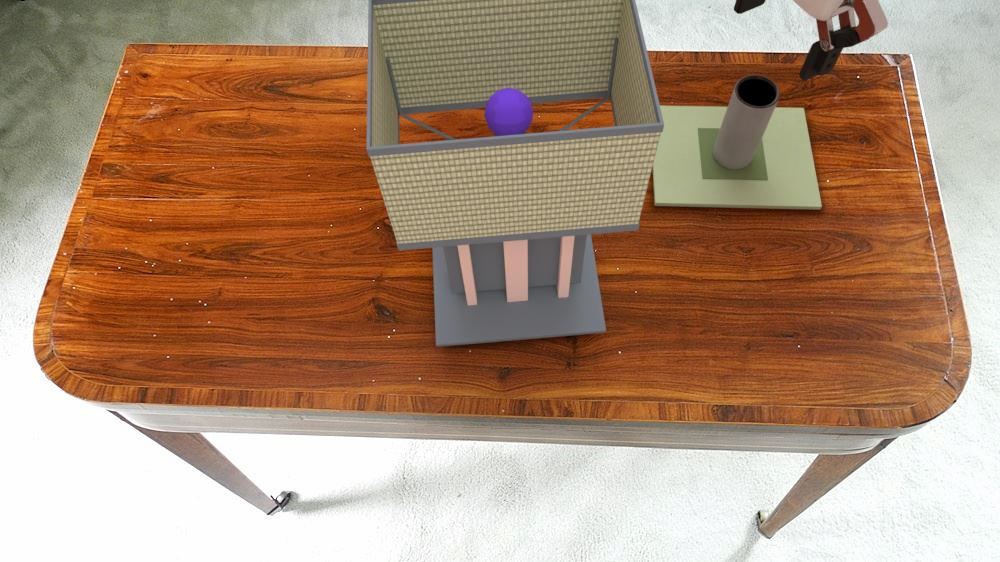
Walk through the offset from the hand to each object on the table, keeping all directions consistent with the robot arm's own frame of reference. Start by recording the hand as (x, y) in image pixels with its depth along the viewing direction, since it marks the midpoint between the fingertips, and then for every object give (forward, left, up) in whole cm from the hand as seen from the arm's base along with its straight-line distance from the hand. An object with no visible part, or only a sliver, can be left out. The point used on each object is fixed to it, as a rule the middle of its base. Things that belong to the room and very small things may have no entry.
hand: (780, 39), depth 67 cm
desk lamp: (+24, +17, -18) cm, 35 cm away
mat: (0, -1, -18) cm, 18 cm away
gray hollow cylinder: (0, 0, -18) cm, 18 cm away
